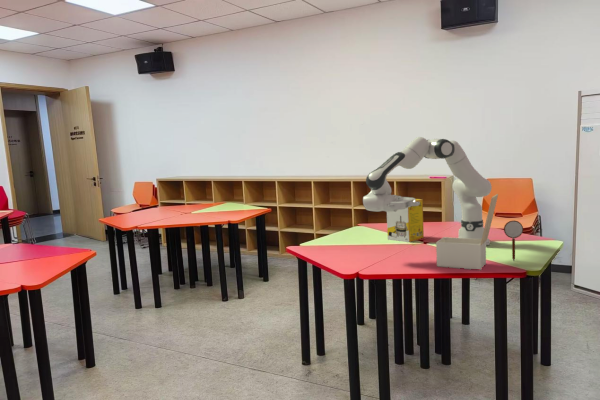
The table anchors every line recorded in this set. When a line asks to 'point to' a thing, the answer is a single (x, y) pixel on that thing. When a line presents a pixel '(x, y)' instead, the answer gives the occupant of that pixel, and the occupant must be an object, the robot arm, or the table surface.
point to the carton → (461, 253)
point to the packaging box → (406, 223)
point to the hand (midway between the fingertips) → (418, 203)
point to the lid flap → (489, 218)
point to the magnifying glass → (513, 233)
